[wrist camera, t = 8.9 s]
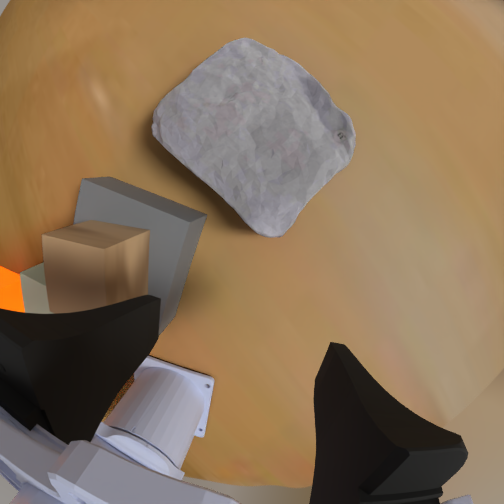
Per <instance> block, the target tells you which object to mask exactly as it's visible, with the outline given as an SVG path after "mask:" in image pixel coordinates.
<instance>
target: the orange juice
mask: <svg viewBox="0 0 504 504" xmlns="http://www.w3.org/2000/svg"><path fill="white" fill-rule="evenodd" d="M0 308H1V309H6V310H12V311H18V312H25V309H24V303H23V296H22V289H21V280H20V275H18V274H16V273H14V272H12V271H10V270H8V269H5V268H3V267H1V266H0Z"/></svg>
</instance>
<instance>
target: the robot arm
mask: <svg viewBox="0 0 504 504" xmlns="http://www.w3.org/2000/svg"><path fill="white" fill-rule="evenodd" d="M160 306H161V298H158V297H155V296H152V295H143V296H139V297H136V298H132V299H129V300H125V301H122V302H118V303H115V304H111V305H107V306H103V307H99V308H95V309H91V310H85V311H79V312H71V313H55V314H38V313H25V312H18V311H12V310H6V309H1V308H0V474H1V475H2V476H3V477H4V478H5V479H6V480H7V481H8V482H9V483H10V484H11V485H12V486H13V487H15V488H16V489H17V490H18V491H19V492H18V494H17V495H16V496H15V497H14V499H13V500H12V501H11V503H10V504H241V503H239V502H238V501H236V500H235V499H233V498H232V497H230V496H228V495H225V494H222V493H219V492H216V491H213V490H210V489H208V488H205V487H201V486H198V485H195V484H191V483H188V482H185V481H182V478H183V476H184V472H183V471H181V470H180V468H181V466H182V464H183V461H184V459H185V456H186V454H187V452H188V449H189V447H190V444H191V442H192V440H193V437H194V436H198V437H204V435H205V430H206V424H207V419H208V413H209V408H210V402H211V397H212V392H213V386H214V379H213V378H212V377H210V376H207V375H204V374H201V373H197V372H194V371H191V370H188V369H185V368H182V367H179V366H176V365H173V364H170V363H167V362H164V361H161V360H159V359H156V358H153V357H150V356H148V355H149V353H150V352H151V350H152V348H153V347H154V345H155V343H156V341H157V340H158V337H159V320H160ZM133 373H134V383H133V384H132V385H131V387H130V388H129V389H128V391H127V392H126V393H125V395H124V396H123V397H122V398H121V400H120V401H119V402H118V404H117V405H116V406H115V408H114V409H113V410H112V412H111V413H110V414H109V416H108V417H107V418H106V420H105V421H104V422H101V421H102V419H103V417H104V416H105V414H106V412H107V410H108V408H109V407H110V405H111V403H112V402H113V400H114V399H115V397H116V395H117V394H118V392H119V391H120V390H121V388H122V387H123V386H124V384H125V383H126V382H127V381H128V380H129V378H130V377H131V376H132V375H133ZM207 384H208V385H210V386H208V385H207ZM314 413H315V428H316V459H315V469H314V477H313V485H312V491H311V497H310V503H309V504H440V503H439V499H438V497H441V496H442V494H443V491H442V487H441V486H442V485H443V484H445V483H446V482H447V481H448V480H449V479H450V478H451V477H452V476H453V475H454V474H456V472H458V471H459V469H460V468H461V467H462V466H463V465H464V463H465V461H466V459H467V456H468V452H467V449H466V447H465V445H464V442H463V440H462V438H461V436H460V435H458V434H455V433H453V432H450V431H448V430H445V429H443V428H441V427H438V426H436V425H434V424H432V423H431V422H429V421H427V420H425V419H423V418H422V417H420V416H418V415H417V414H415V413H414V412H412V411H411V410H409V409H408V408H406V407H405V406H404V405H402V404H401V403H400V402H398V401H397V400H396V399H395V398H394V397H392V396H391V395H390V394H389V393H388V392H387V391H386V390H385V389H384V388H383V387H382V386H381V385H380V384H379V383H378V382H377V381H376V380H375V379H374V378H373V377H372V376H371V375H370V374H369V373H368V371H367V370H366V369H365V368H364V367H363V366H362V364H361V363H360V362H359V361H358V360H357V358H356V357H355V356H354V355H353V353H352V352H351V351H350V350H349V349H348V348H347V347H346V346H345V345H344V344H339V343H334V342H330V345H329V347H328V350H327V352H326V355H325V357H324V360H323V362H322V364H321V367H320V369H319V371H318V374H317V376H316V378H315V387H314ZM441 504H473V502H472V499H471V496H470V495H465V496H462V497H458V498H454V499H450V500H447V501H445V502H443V503H441Z"/></svg>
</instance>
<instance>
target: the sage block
mask: <svg viewBox="0 0 504 504" xmlns="http://www.w3.org/2000/svg"><path fill="white" fill-rule="evenodd" d="M20 280H21V289H22V296H23V303H24V309H25V313H38V314H54V313H52V312H50V310H49V303H48V297H47V290H46V282H45V273H44V262H43V263H41V264H38V265H36V266H34V267H31V268H29V269H27V270H25V271H22V272H20Z"/></svg>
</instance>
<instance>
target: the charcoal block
mask: <svg viewBox="0 0 504 504" xmlns="http://www.w3.org/2000/svg"><path fill="white" fill-rule="evenodd" d="M206 217H207V214H204V213H202V212H199V211H197V210H194V209H192V208H189V207H187V206H184V205H182V204H179V203H177V202H174V201H172V200H169V199H166V198H164V197H161V196H159V195H156V194H154V193H151V192H149V191H146V190H143V189H141V188H138V187H136V186H133V185H130V184H128V183H125V182H123V181H120V180H117V179H115V178H112V177H98V178H84V179H82V182H81V186H80V191H79V196H78V201H77V206H76V211H75V217H74V223H73V225H74V224H78V223H82V222H85V221H89V220H95V221H101V222H107V223H112V224H118V225H124V226H130V227H136V228H141V229H147V230H150V241H149V266H148V295H152V296H155V297H158V298H161V306H160V320H159V335H160V334H161V333H162V332H163V330H164V329H165V328H166V327H167V326H168V324H169V323H170V322H171V321H172V320H173V318H174V317H175V315H176V311H177V308H178V304H179V301H180V298H181V294H182V291H183V288H184V285H185V281H186V278H187V275H188V272H189V269H190V265H191V262H192V259H193V256H194V253H195V250H196V247H197V244H198V241H199V238H200V235H201V232H202V229H203V226H204V223H205V220H206Z"/></svg>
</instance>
